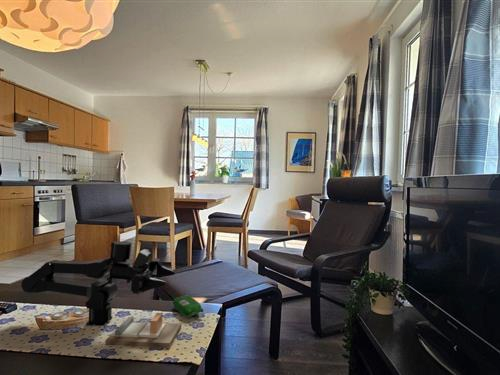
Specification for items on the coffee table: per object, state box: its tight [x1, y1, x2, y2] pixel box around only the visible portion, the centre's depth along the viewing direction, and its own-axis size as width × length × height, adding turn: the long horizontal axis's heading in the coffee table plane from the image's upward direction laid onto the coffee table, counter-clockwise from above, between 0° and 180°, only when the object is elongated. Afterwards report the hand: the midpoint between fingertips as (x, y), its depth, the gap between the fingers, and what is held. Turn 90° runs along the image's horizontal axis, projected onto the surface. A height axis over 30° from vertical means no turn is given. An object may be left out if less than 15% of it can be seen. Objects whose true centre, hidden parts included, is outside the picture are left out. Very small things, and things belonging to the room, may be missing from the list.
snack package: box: [172, 295, 204, 318], centre depth 117 cm, size 7×16×5 cm, turn 35°
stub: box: [139, 312, 166, 338], centre depth 98 cm, size 6×8×5 cm
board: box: [104, 320, 182, 349], centre depth 98 cm, size 20×13×2 cm, turn 88°
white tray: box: [112, 316, 147, 337], centre depth 98 cm, size 8×10×2 cm
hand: (170, 278), depth 105 cm, fingers open, 9 cm apart
